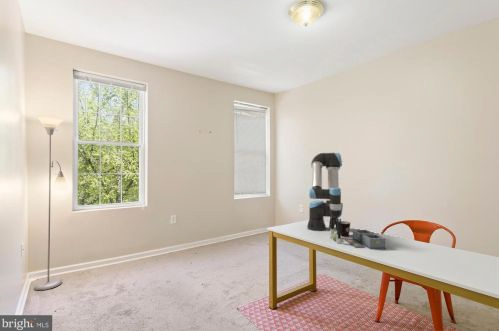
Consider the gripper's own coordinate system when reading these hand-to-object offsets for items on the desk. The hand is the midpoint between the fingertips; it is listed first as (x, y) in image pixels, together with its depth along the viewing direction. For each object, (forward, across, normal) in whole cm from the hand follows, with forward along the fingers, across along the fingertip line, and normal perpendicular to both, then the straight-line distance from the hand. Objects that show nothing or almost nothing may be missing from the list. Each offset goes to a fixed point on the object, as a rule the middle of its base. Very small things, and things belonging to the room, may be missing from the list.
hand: (335, 240), depth 180 cm
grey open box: (0, +14, +20) cm, 24 cm away
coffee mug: (0, -12, +10) cm, 16 cm away
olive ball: (0, 0, 0) cm, 0 cm away
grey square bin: (0, +2, +19) cm, 19 cm away
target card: (0, +8, +10) cm, 13 cm away
